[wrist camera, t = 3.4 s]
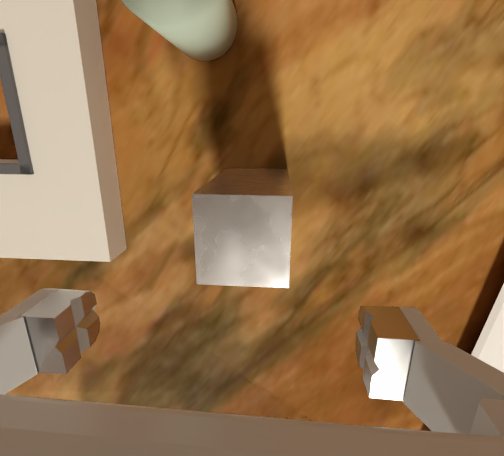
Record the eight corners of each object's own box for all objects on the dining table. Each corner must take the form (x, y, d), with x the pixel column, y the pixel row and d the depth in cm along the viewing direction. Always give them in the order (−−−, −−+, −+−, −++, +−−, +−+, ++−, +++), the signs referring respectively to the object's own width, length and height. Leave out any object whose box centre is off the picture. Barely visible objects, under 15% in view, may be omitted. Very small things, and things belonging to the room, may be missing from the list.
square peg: (285, 227, 27) (288, 288, 17) (228, 225, 28) (196, 284, 17) (287, 168, 26) (292, 196, 15) (226, 167, 26) (192, 194, 16)
